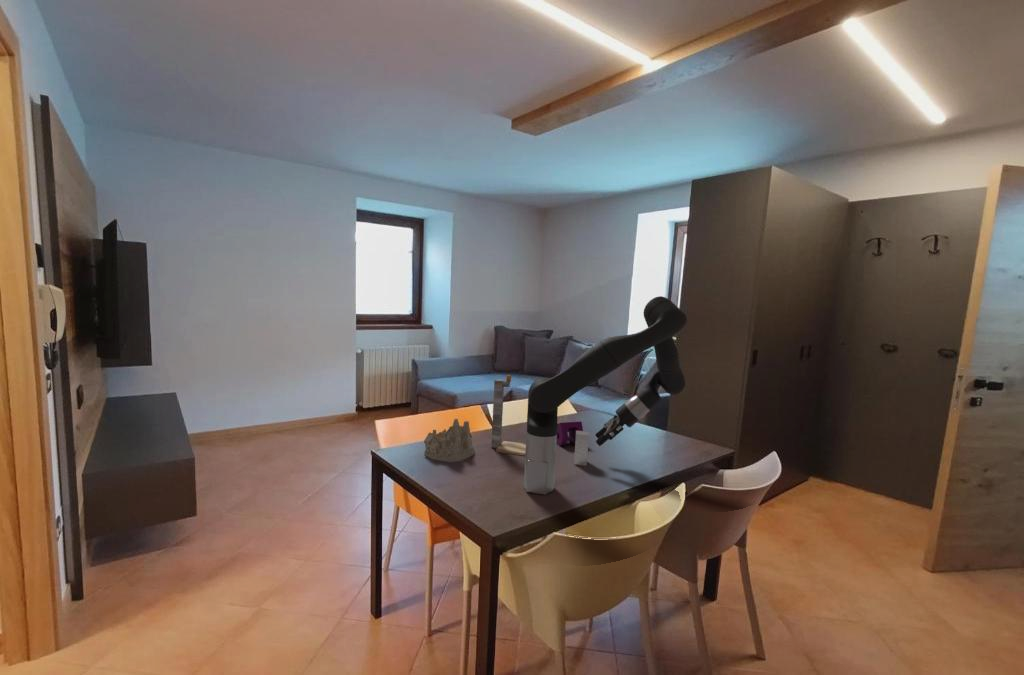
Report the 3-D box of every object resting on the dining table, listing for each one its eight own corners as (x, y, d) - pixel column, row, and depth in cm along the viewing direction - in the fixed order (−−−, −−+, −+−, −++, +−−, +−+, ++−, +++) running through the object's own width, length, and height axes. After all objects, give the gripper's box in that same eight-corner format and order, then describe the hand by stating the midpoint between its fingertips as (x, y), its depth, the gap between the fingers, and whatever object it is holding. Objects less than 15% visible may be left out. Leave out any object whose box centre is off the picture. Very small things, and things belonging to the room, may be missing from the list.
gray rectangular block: (586, 461, 158) (588, 431, 157) (586, 466, 154) (588, 435, 153) (574, 460, 159) (576, 430, 158) (573, 464, 154) (575, 434, 154)
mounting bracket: (545, 450, 186) (563, 444, 170) (542, 430, 189) (560, 422, 173) (565, 448, 189) (585, 442, 174) (562, 428, 192) (581, 421, 176)
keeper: (524, 455, 161) (528, 379, 159) (488, 450, 164) (491, 376, 162) (530, 446, 172) (534, 375, 169) (496, 441, 175) (499, 372, 173)
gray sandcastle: (481, 452, 161) (480, 412, 160) (450, 467, 148) (448, 423, 147) (450, 445, 170) (449, 407, 169) (418, 458, 157) (416, 417, 156)
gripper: (642, 424, 145) (605, 454, 147) (637, 414, 159) (603, 442, 161) (627, 406, 146) (590, 437, 148) (623, 399, 160) (589, 427, 162)
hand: (597, 440), depth 155 cm, fingers open, 8 cm apart
